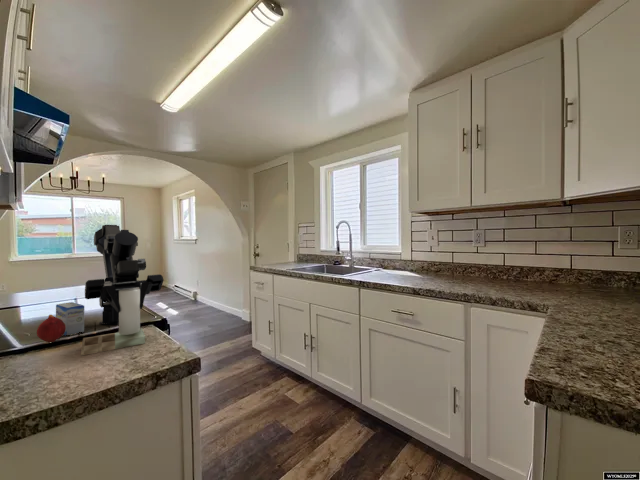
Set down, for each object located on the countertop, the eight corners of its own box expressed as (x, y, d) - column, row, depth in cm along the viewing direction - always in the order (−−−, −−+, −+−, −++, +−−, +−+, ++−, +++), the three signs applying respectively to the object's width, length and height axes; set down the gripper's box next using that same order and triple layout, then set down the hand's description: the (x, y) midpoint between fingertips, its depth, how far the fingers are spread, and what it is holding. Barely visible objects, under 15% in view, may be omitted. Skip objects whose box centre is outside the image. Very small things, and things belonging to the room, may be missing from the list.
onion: (69, 337, 81) (69, 311, 80) (59, 345, 75) (59, 316, 75) (44, 340, 79) (44, 312, 78) (31, 348, 73) (31, 318, 73)
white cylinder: (121, 329, 80) (121, 288, 80) (141, 327, 82) (141, 288, 82) (116, 335, 75) (116, 292, 75) (137, 333, 77) (137, 291, 77)
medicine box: (55, 332, 85) (55, 304, 85) (73, 327, 89) (73, 301, 89) (66, 336, 82) (66, 307, 81) (84, 332, 86) (84, 304, 85)
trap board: (81, 355, 69) (81, 347, 69) (83, 345, 75) (83, 338, 75) (145, 343, 77) (145, 336, 77) (142, 334, 84) (142, 328, 84)
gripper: (85, 250, 74) (89, 298, 67) (162, 249, 87) (172, 288, 80) (83, 276, 80) (86, 322, 72) (155, 270, 93) (164, 309, 86)
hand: (130, 309), depth 77 cm, fingers closed on white cylinder, 5 cm apart
